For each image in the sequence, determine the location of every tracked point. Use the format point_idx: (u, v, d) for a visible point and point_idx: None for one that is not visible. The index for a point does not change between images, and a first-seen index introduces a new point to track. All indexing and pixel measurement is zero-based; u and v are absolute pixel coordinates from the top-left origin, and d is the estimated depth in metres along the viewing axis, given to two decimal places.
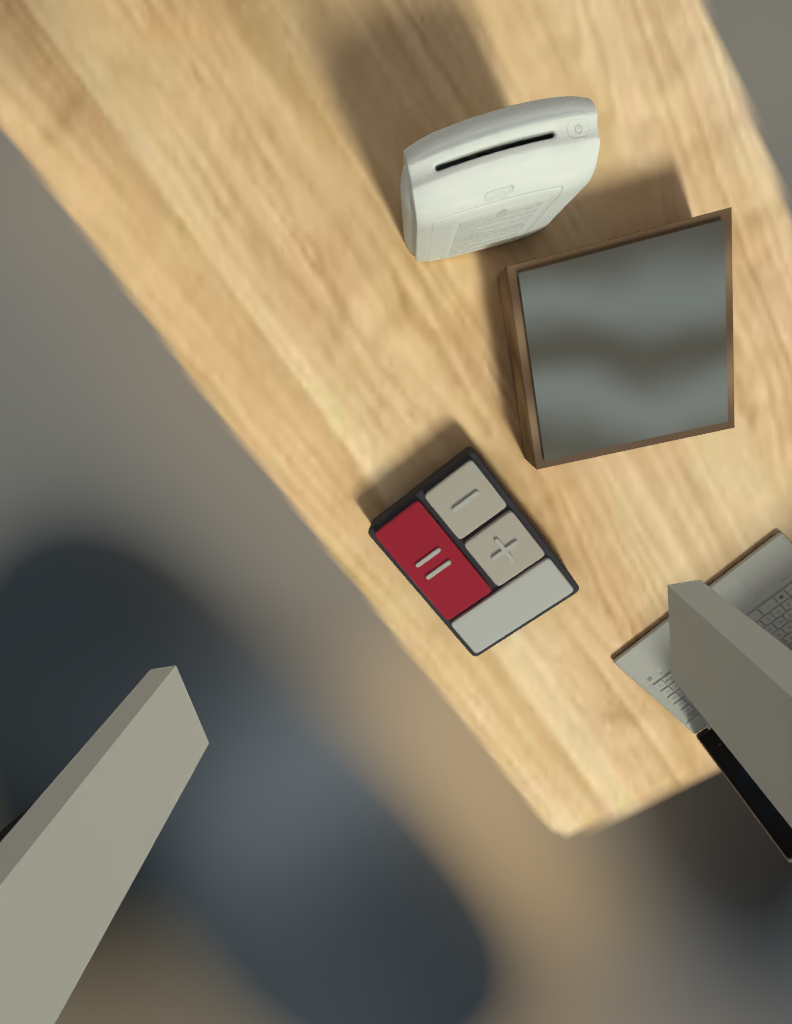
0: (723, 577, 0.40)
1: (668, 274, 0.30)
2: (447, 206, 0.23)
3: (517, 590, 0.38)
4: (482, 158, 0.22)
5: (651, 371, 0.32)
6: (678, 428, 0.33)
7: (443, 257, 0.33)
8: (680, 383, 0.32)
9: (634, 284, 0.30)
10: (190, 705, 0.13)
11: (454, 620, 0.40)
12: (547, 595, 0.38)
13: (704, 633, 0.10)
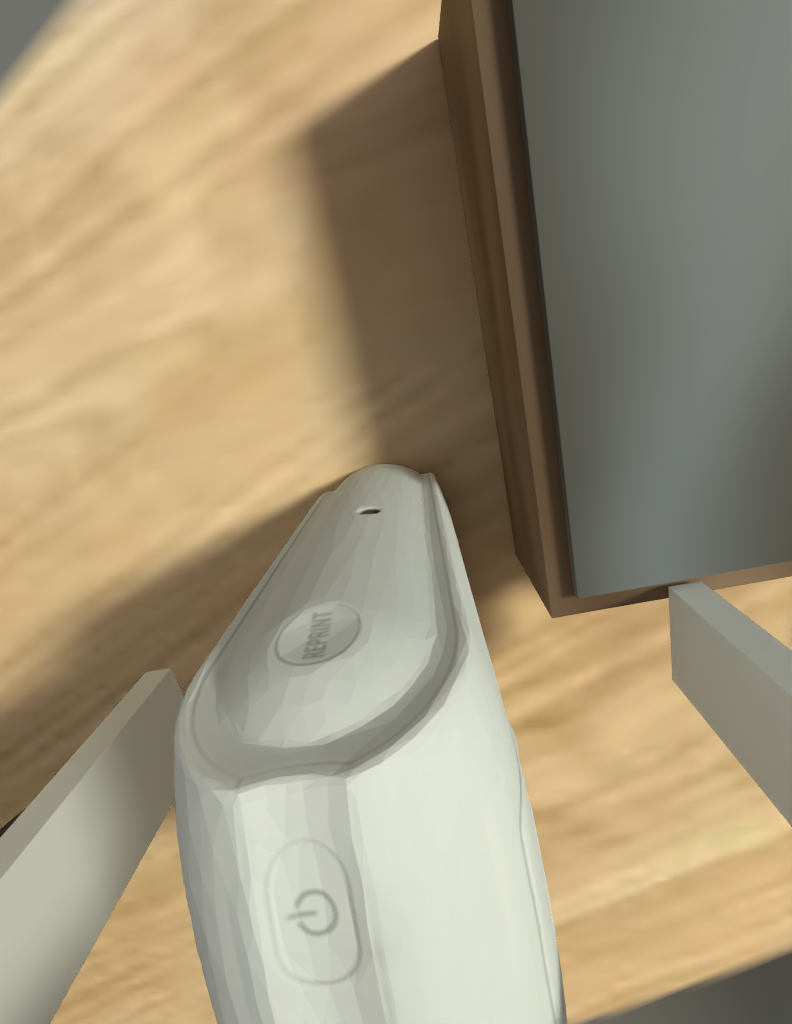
0: None
1: (661, 111, 0.08)
2: None
3: None
4: None
5: None
6: None
7: None
8: None
9: (671, 243, 0.09)
10: None
11: None
12: None
13: (706, 635, 0.10)
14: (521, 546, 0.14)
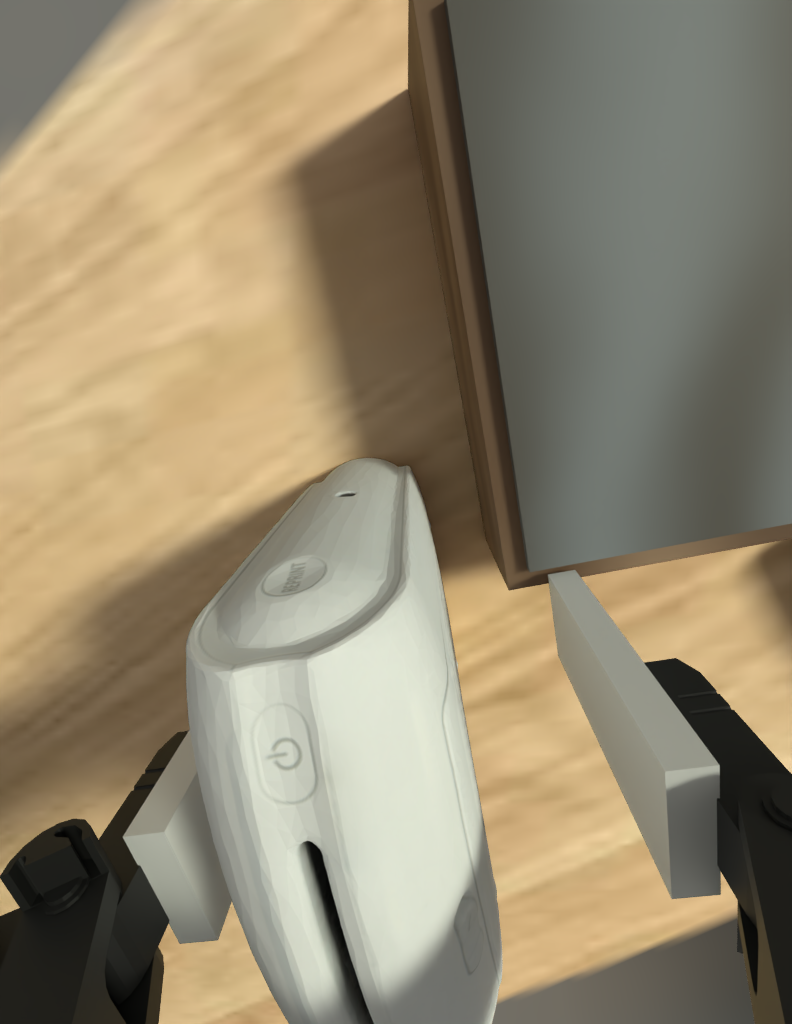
0: None
1: (582, 162, 0.10)
2: (486, 1021, 0.08)
3: None
4: None
5: None
6: None
7: None
8: None
9: (595, 270, 0.10)
10: None
11: None
12: None
13: (565, 613, 0.12)
14: (488, 531, 0.16)
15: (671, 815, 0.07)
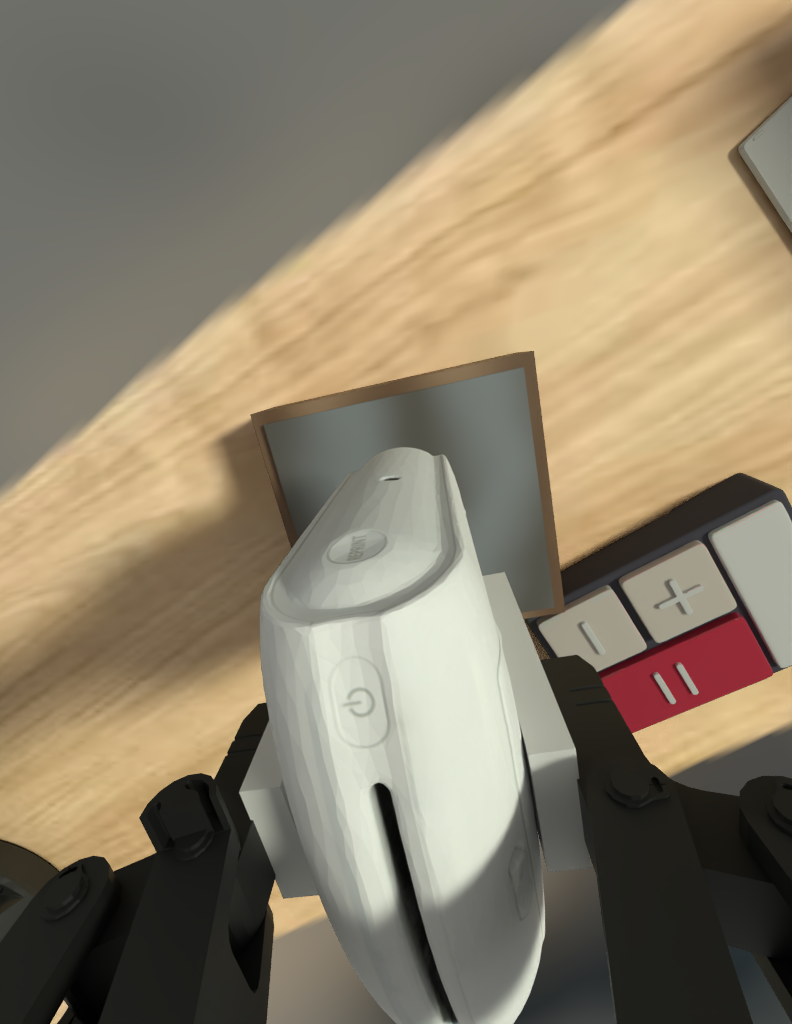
0: None
1: (327, 482, 0.24)
2: (533, 971, 0.08)
3: (753, 580, 0.25)
4: (446, 982, 0.07)
5: None
6: (527, 438, 0.22)
7: None
8: (463, 446, 0.23)
9: None
10: None
11: (776, 662, 0.27)
12: (776, 538, 0.24)
13: None
14: None
15: (537, 794, 0.08)
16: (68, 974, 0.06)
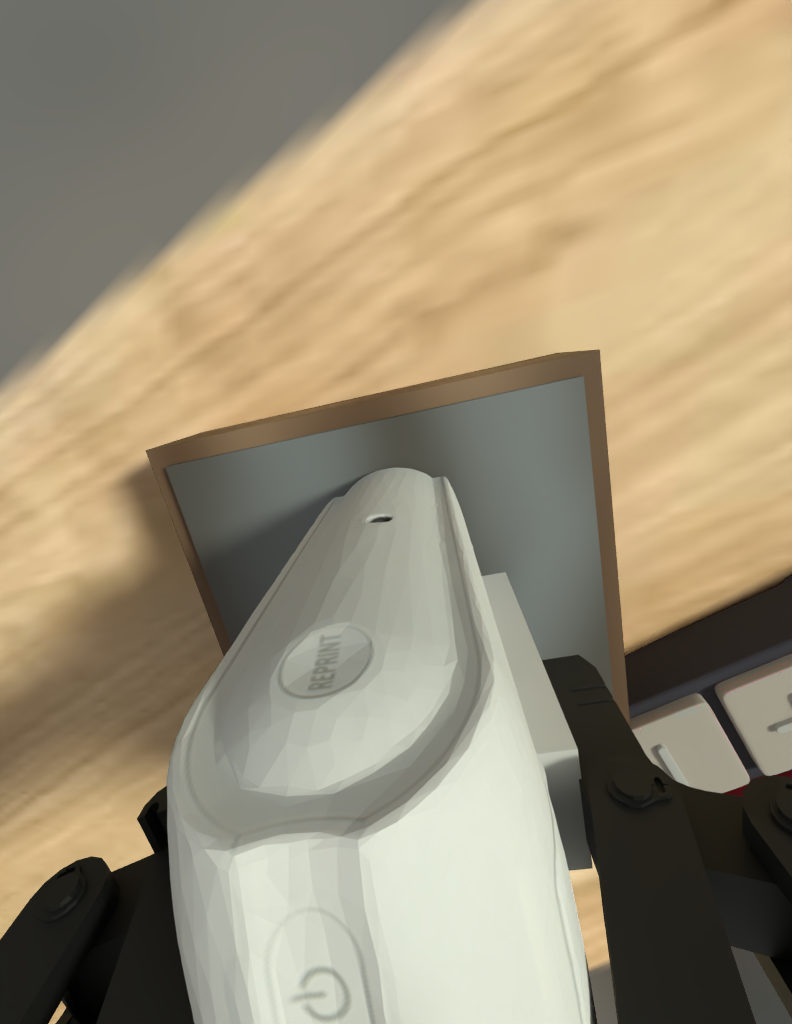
0: None
1: (269, 554, 0.15)
2: None
3: None
4: None
5: None
6: (585, 489, 0.14)
7: None
8: (482, 500, 0.14)
9: None
10: None
11: None
12: None
13: None
14: None
15: None
16: (66, 975, 0.06)
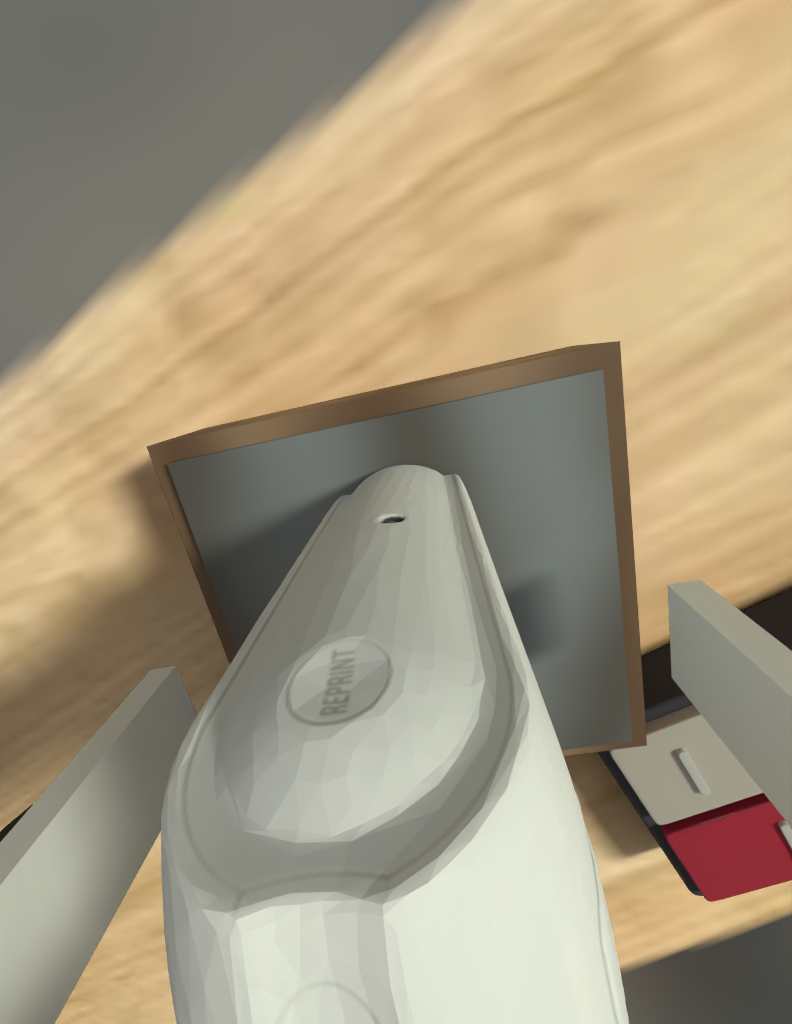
0: None
1: (274, 554, 0.15)
2: None
3: None
4: None
5: None
6: (603, 488, 0.13)
7: None
8: (495, 499, 0.14)
9: None
10: (190, 704, 0.13)
11: None
12: None
13: (704, 633, 0.10)
14: None
15: None
16: None
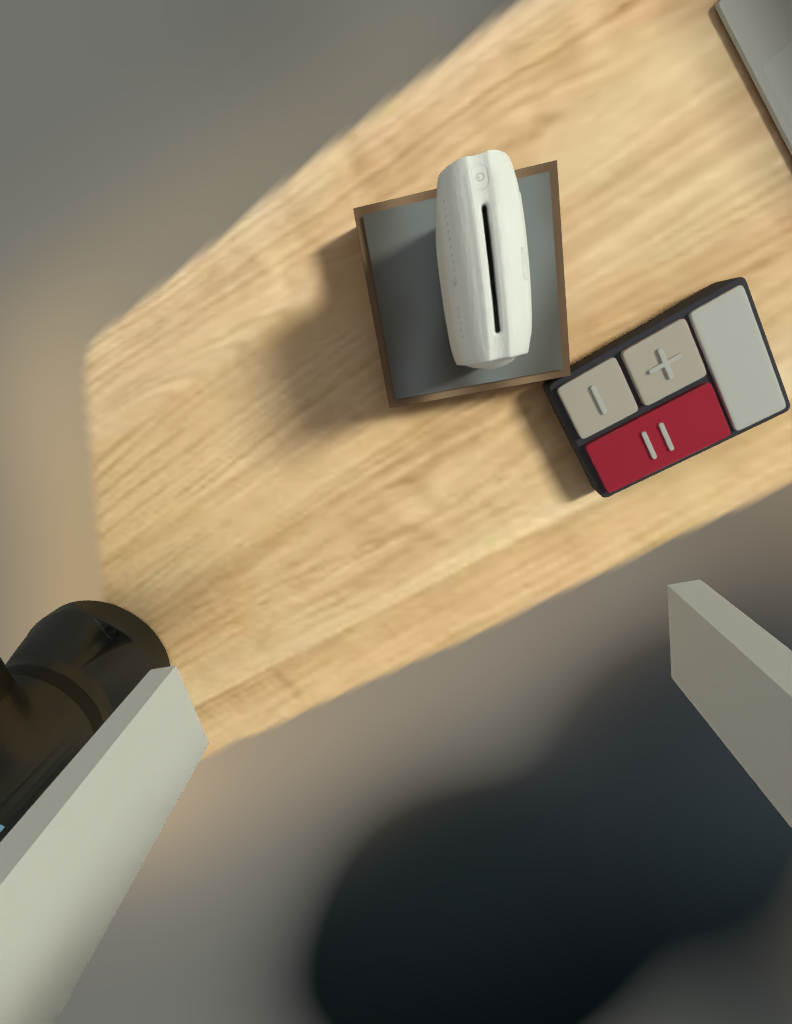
0: (758, 84, 0.32)
1: (404, 262, 0.33)
2: (526, 320, 0.23)
3: (719, 352, 0.34)
4: (500, 283, 0.22)
5: None
6: (549, 228, 0.32)
7: None
8: None
9: (410, 294, 0.34)
10: (190, 704, 0.13)
11: (733, 426, 0.36)
12: (738, 316, 0.33)
13: (704, 633, 0.10)
14: None
15: None
16: None
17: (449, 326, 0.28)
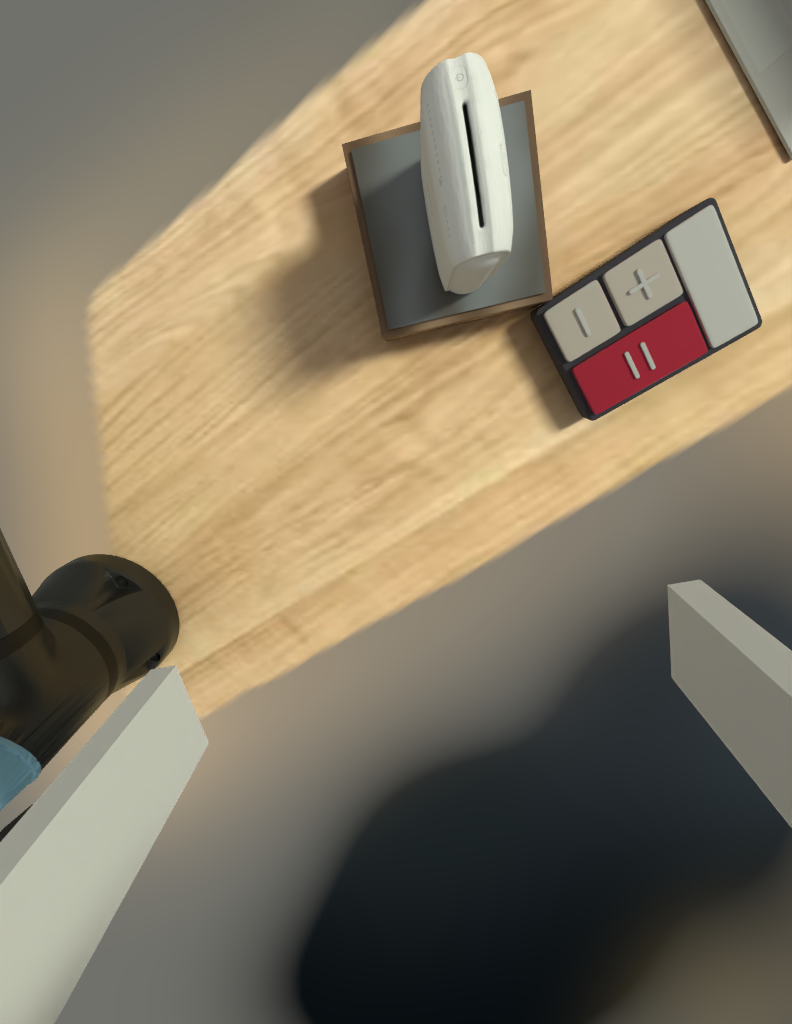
0: (715, 12, 0.34)
1: (391, 194, 0.35)
2: (508, 215, 0.25)
3: (694, 271, 0.36)
4: (482, 176, 0.24)
5: None
6: (526, 155, 0.34)
7: None
8: None
9: (398, 225, 0.36)
10: (190, 705, 0.13)
11: (710, 343, 0.38)
12: (710, 235, 0.36)
13: (704, 632, 0.10)
14: None
15: None
16: None
17: (437, 241, 0.30)
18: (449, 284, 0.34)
